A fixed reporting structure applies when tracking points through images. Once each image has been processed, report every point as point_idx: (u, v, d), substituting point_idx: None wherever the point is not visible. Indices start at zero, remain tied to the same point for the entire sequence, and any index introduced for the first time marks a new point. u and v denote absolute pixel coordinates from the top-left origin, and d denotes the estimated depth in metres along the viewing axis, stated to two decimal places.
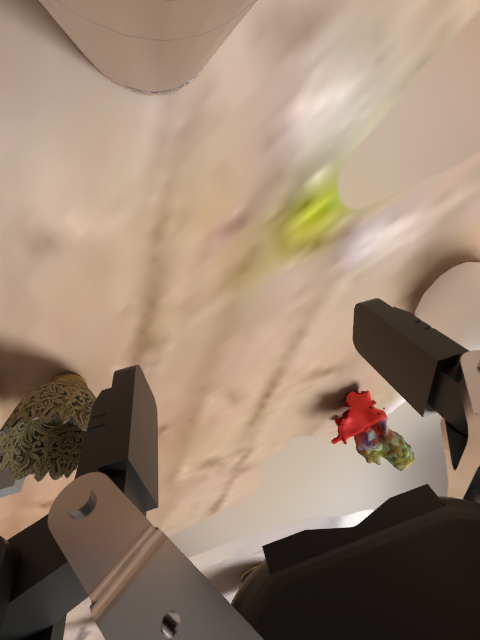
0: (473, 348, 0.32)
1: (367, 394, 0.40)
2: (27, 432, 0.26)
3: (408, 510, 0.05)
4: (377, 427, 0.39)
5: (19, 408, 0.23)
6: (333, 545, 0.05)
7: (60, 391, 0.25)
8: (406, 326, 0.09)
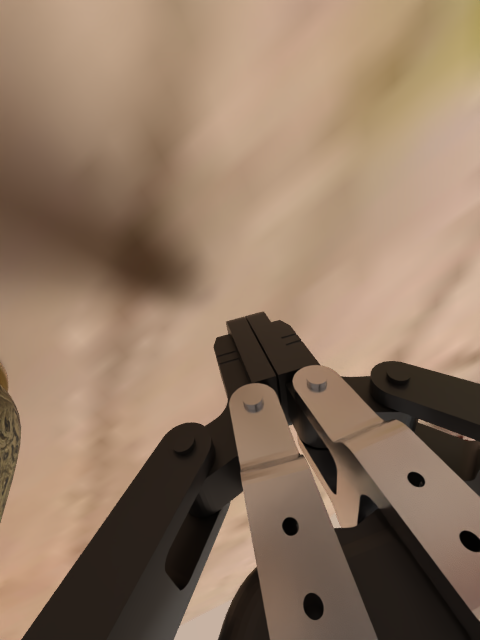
0: None
1: None
2: None
3: None
4: None
5: None
6: None
7: None
8: (271, 340, 0.09)
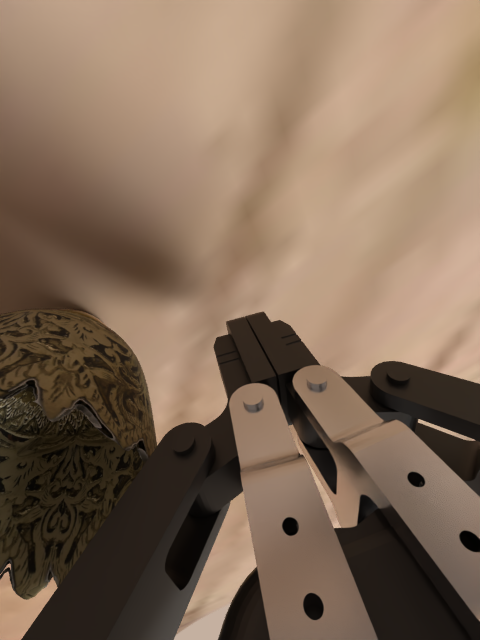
0: None
1: None
2: None
3: None
4: None
5: None
6: None
7: (49, 327, 0.08)
8: (271, 340, 0.09)
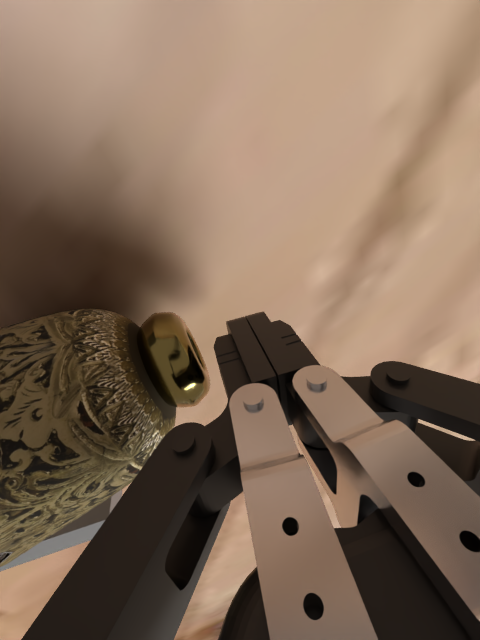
0: None
1: None
2: None
3: None
4: None
5: None
6: None
7: (6, 389, 0.08)
8: (271, 340, 0.09)
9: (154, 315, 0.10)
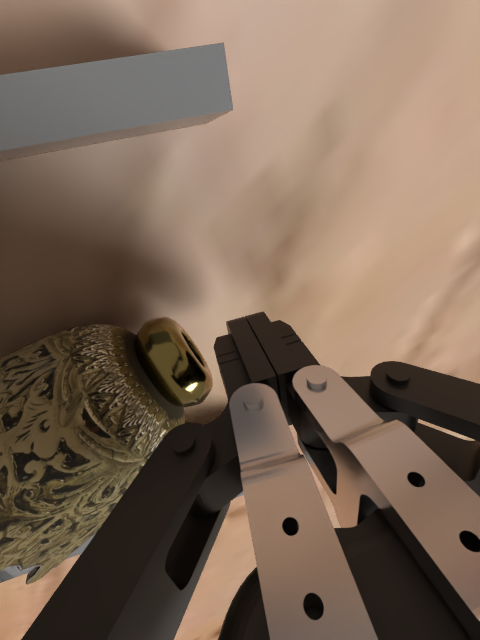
0: None
1: None
2: None
3: None
4: None
5: None
6: None
7: (14, 406, 0.08)
8: (271, 340, 0.09)
9: (148, 321, 0.11)
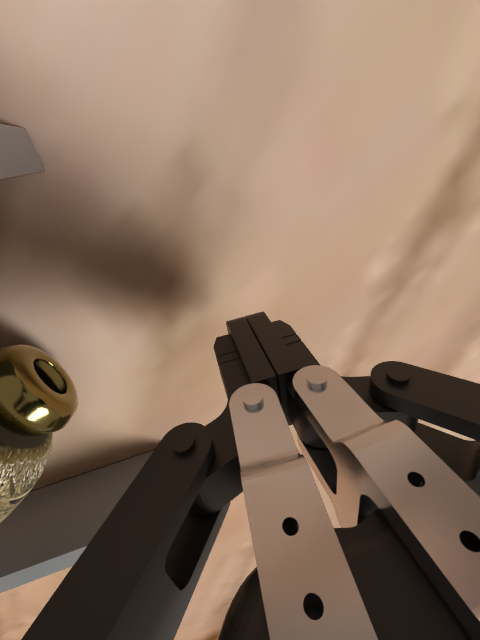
0: None
1: None
2: None
3: None
4: None
5: None
6: None
7: None
8: (271, 340, 0.09)
9: (2, 348, 0.11)
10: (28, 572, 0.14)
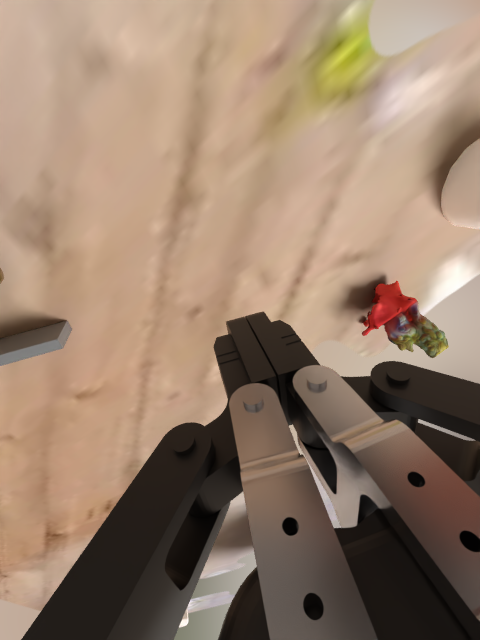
0: None
1: (396, 284, 0.41)
2: None
3: None
4: (408, 313, 0.39)
5: None
6: None
7: None
8: (271, 340, 0.09)
9: None
10: None
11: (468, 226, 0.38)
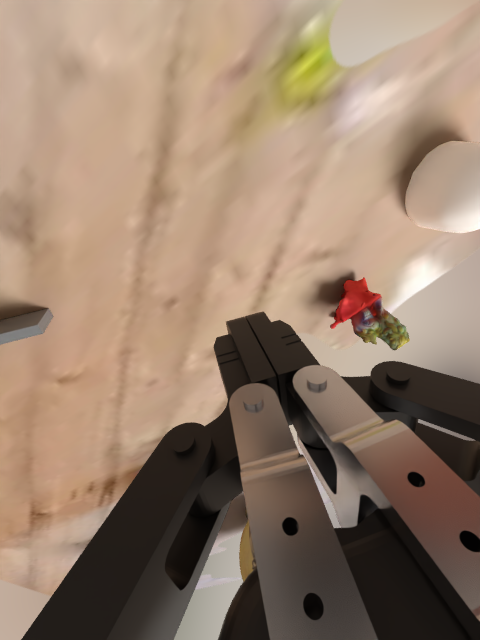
0: (458, 207, 0.35)
1: (363, 280, 0.43)
2: None
3: None
4: (373, 308, 0.42)
5: None
6: None
7: None
8: (271, 340, 0.09)
9: None
10: None
11: (430, 227, 0.41)
